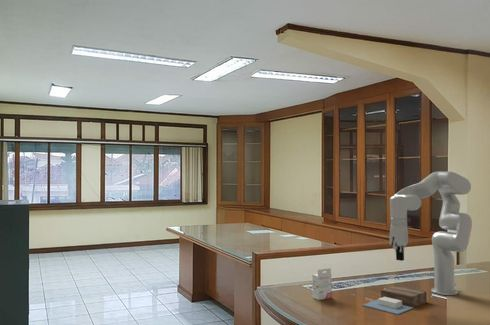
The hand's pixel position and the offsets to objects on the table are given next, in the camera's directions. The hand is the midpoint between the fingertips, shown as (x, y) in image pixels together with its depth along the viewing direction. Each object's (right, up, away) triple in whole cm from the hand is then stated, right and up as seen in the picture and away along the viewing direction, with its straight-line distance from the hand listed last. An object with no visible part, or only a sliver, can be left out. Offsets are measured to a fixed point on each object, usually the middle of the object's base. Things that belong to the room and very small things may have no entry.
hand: (400, 260), depth 211 cm
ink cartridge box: (-36, -21, +8) cm, 43 cm away
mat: (-8, -20, -7) cm, 23 cm away
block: (-7, -17, -6) cm, 19 cm away
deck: (+3, -21, +2) cm, 21 cm away
